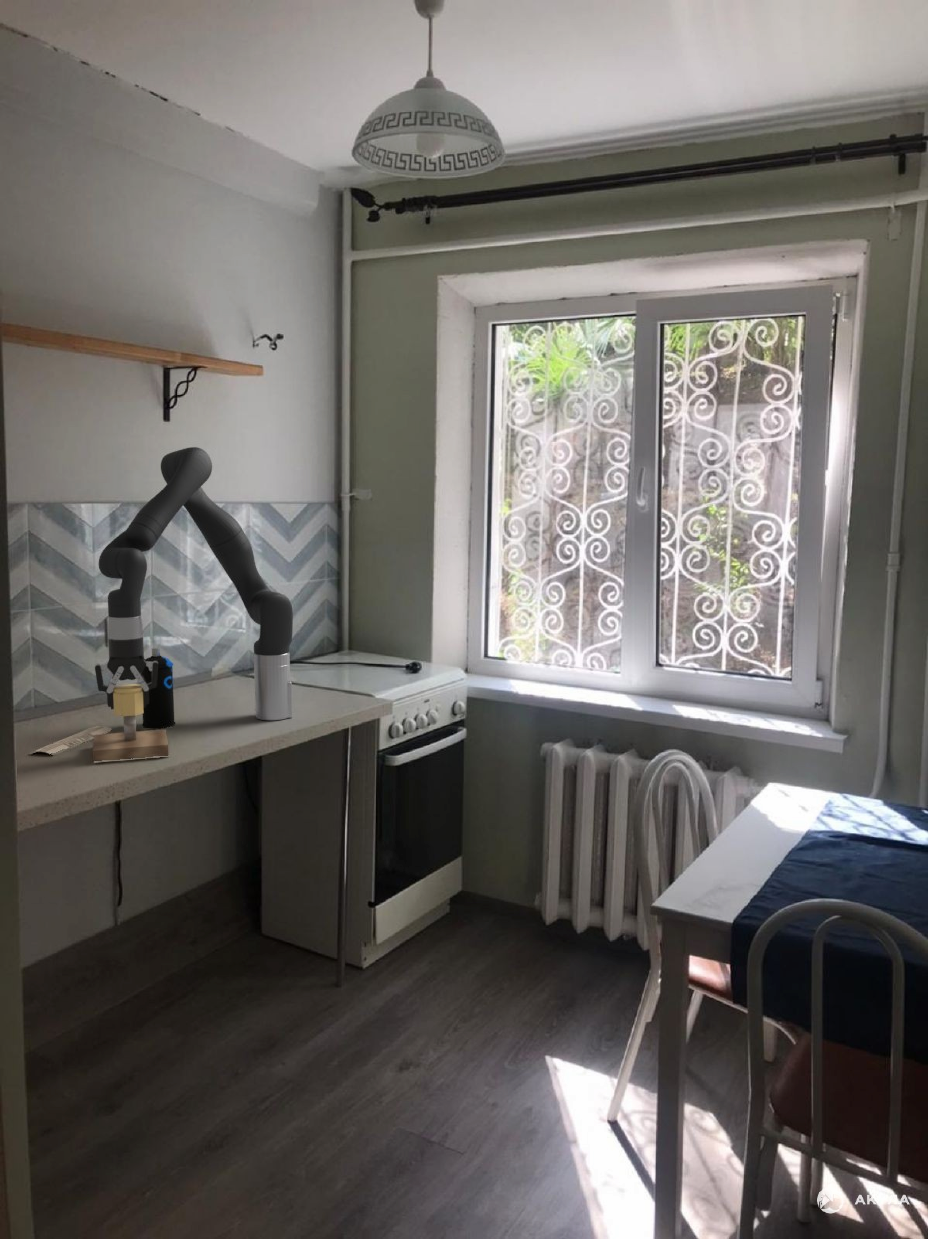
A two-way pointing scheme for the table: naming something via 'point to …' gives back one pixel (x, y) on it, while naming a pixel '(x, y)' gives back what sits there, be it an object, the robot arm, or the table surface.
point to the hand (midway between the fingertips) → (128, 707)
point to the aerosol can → (159, 694)
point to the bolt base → (130, 743)
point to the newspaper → (74, 739)
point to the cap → (128, 700)
